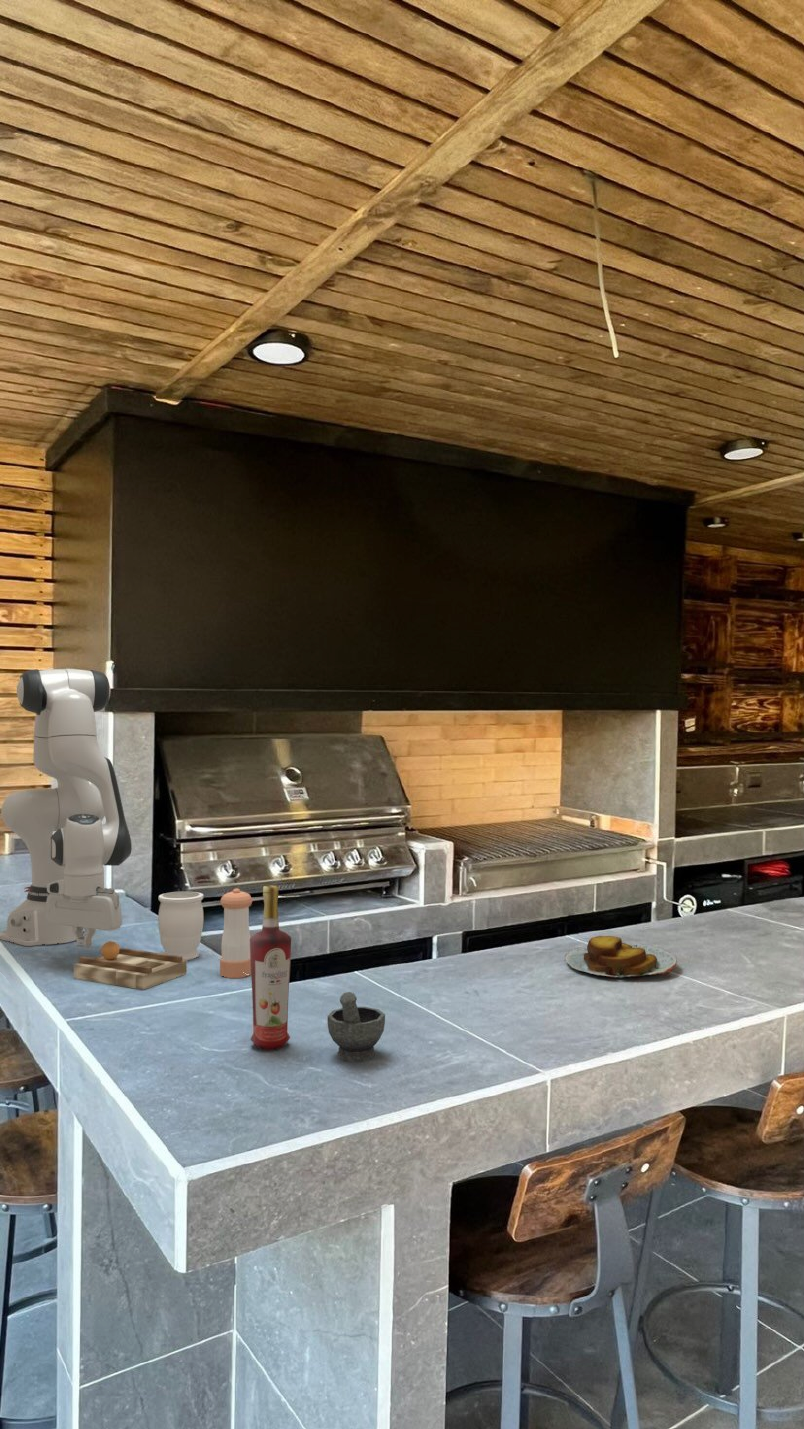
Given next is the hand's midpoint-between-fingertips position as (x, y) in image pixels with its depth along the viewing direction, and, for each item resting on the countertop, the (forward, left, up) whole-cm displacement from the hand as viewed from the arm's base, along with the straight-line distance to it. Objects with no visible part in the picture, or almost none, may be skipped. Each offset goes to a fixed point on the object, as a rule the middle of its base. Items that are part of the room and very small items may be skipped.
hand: (84, 946), depth 217 cm
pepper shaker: (+34, +12, -5) cm, 36 cm away
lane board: (+14, 0, -5) cm, 15 cm away
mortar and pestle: (+83, -21, -5) cm, 86 cm away
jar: (+13, +18, -5) cm, 23 cm away
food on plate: (+110, +57, -6) cm, 124 cm away
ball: (+8, 0, 0) cm, 8 cm away
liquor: (+67, -23, -5) cm, 71 cm away
